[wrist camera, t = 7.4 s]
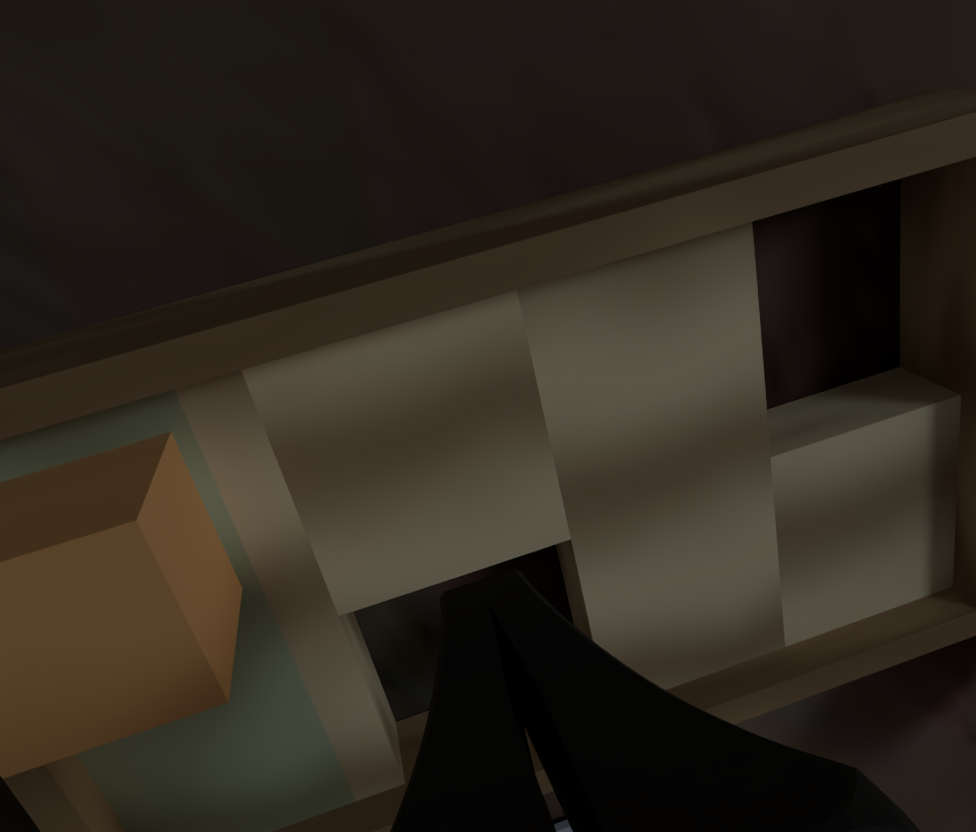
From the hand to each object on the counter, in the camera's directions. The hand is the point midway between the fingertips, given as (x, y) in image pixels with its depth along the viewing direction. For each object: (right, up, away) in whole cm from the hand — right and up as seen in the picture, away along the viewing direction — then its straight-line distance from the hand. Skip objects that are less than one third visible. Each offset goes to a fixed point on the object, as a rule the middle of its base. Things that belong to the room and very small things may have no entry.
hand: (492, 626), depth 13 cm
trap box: (+1, +1, +10) cm, 10 cm away
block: (-9, +1, +5) cm, 10 cm away
